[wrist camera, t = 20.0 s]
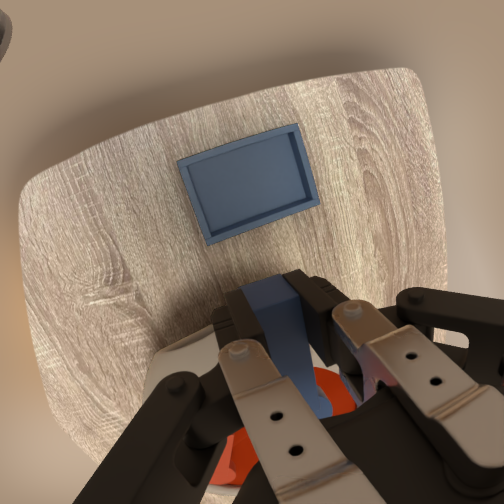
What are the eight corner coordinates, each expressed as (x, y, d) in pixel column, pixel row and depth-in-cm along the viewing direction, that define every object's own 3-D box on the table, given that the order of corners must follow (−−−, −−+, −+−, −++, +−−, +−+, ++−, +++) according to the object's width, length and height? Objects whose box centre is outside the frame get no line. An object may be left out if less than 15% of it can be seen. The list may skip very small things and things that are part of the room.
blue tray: (176, 161, 34) (176, 161, 32) (289, 124, 36) (297, 122, 33) (205, 240, 37) (207, 246, 35) (312, 201, 39) (320, 204, 36)
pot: (288, 416, 48) (330, 499, 32) (138, 403, 41) (135, 504, 25) (344, 283, 43) (427, 350, 26) (165, 246, 36) (158, 320, 20)
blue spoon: (214, 294, 13) (223, 320, 10) (301, 265, 13) (324, 286, 11) (265, 438, 16) (277, 467, 14) (326, 415, 16) (343, 441, 14)
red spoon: (198, 412, 23) (197, 432, 21) (245, 415, 23) (246, 435, 21) (196, 473, 25) (195, 491, 23) (233, 476, 26) (234, 493, 24)
